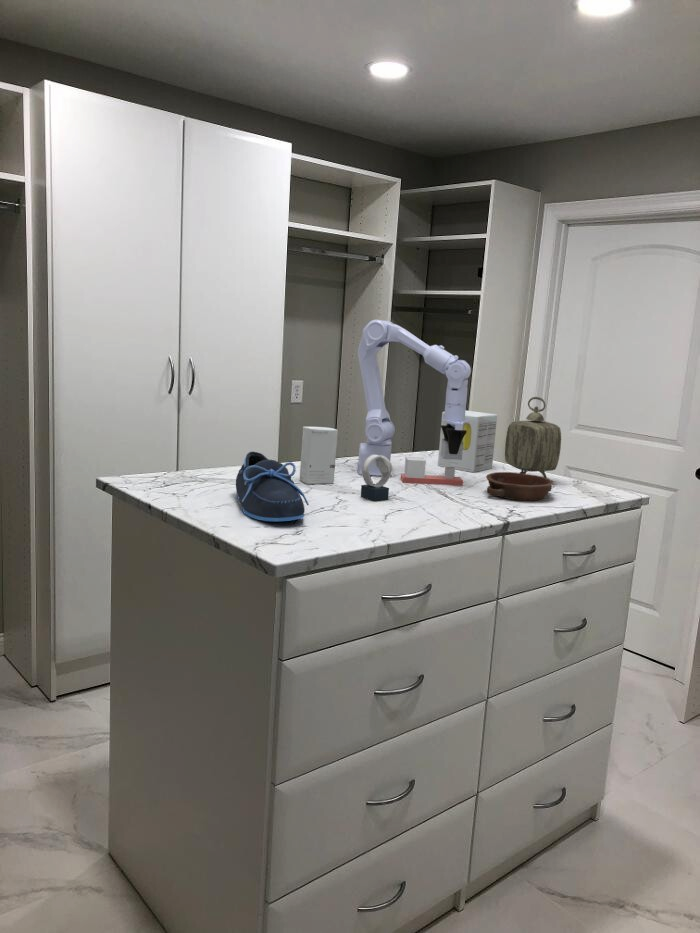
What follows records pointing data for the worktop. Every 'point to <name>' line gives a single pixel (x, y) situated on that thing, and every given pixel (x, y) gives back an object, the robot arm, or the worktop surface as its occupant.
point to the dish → (518, 486)
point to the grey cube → (445, 451)
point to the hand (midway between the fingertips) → (451, 452)
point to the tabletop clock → (533, 443)
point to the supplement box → (474, 443)
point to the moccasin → (268, 490)
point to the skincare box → (318, 455)
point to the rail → (417, 475)
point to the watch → (378, 490)
